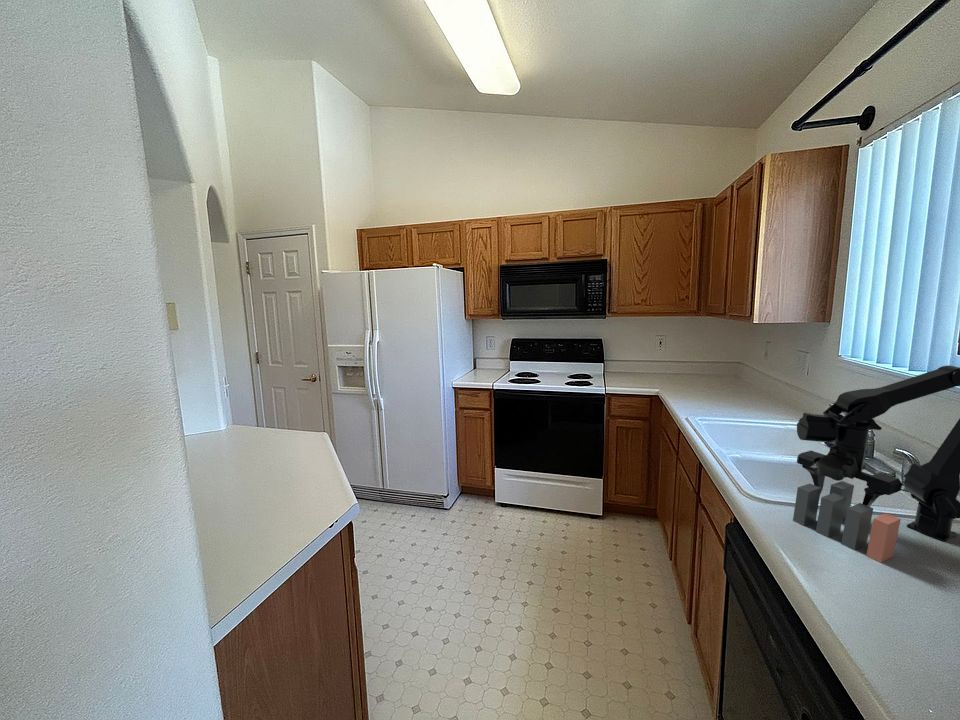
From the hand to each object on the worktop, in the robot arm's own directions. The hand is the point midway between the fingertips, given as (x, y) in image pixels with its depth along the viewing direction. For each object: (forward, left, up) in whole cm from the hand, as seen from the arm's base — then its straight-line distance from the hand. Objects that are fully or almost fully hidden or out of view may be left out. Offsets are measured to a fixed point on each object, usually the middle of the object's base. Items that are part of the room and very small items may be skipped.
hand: (840, 502), depth 99 cm
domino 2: (0, 0, -4) cm, 4 cm away
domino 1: (+9, -3, -4) cm, 10 cm away
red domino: (+9, +12, -4) cm, 16 cm away
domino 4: (+9, +7, -4) cm, 12 cm away
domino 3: (+9, +2, -4) cm, 10 cm away
